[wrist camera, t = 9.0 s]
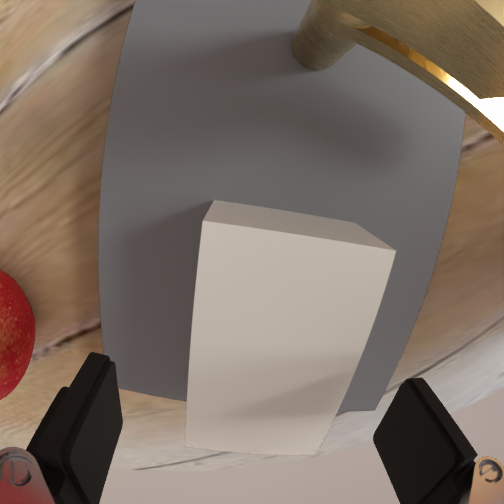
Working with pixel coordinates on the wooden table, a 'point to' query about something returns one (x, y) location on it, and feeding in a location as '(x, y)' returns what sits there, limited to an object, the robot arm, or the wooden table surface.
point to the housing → (259, 172)
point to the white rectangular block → (278, 326)
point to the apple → (14, 334)
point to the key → (418, 45)
